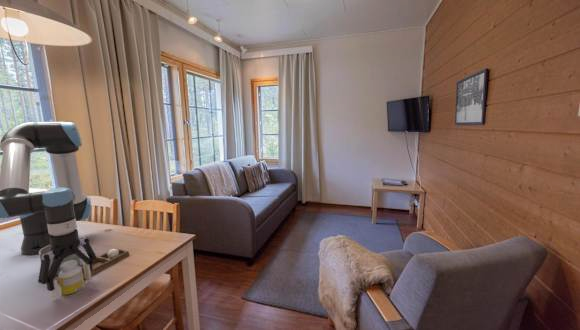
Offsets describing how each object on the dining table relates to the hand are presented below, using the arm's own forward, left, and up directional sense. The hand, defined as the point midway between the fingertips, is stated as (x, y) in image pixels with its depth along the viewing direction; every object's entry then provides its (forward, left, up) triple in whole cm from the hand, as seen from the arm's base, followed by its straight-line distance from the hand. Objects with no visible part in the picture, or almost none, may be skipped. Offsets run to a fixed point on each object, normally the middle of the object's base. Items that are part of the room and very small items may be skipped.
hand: (73, 287), depth 91 cm
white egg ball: (-8, +21, -1) cm, 22 cm away
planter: (-20, +8, -2) cm, 21 cm away
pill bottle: (0, 0, -2) cm, 2 cm away
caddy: (-8, +13, -2) cm, 15 cm away
